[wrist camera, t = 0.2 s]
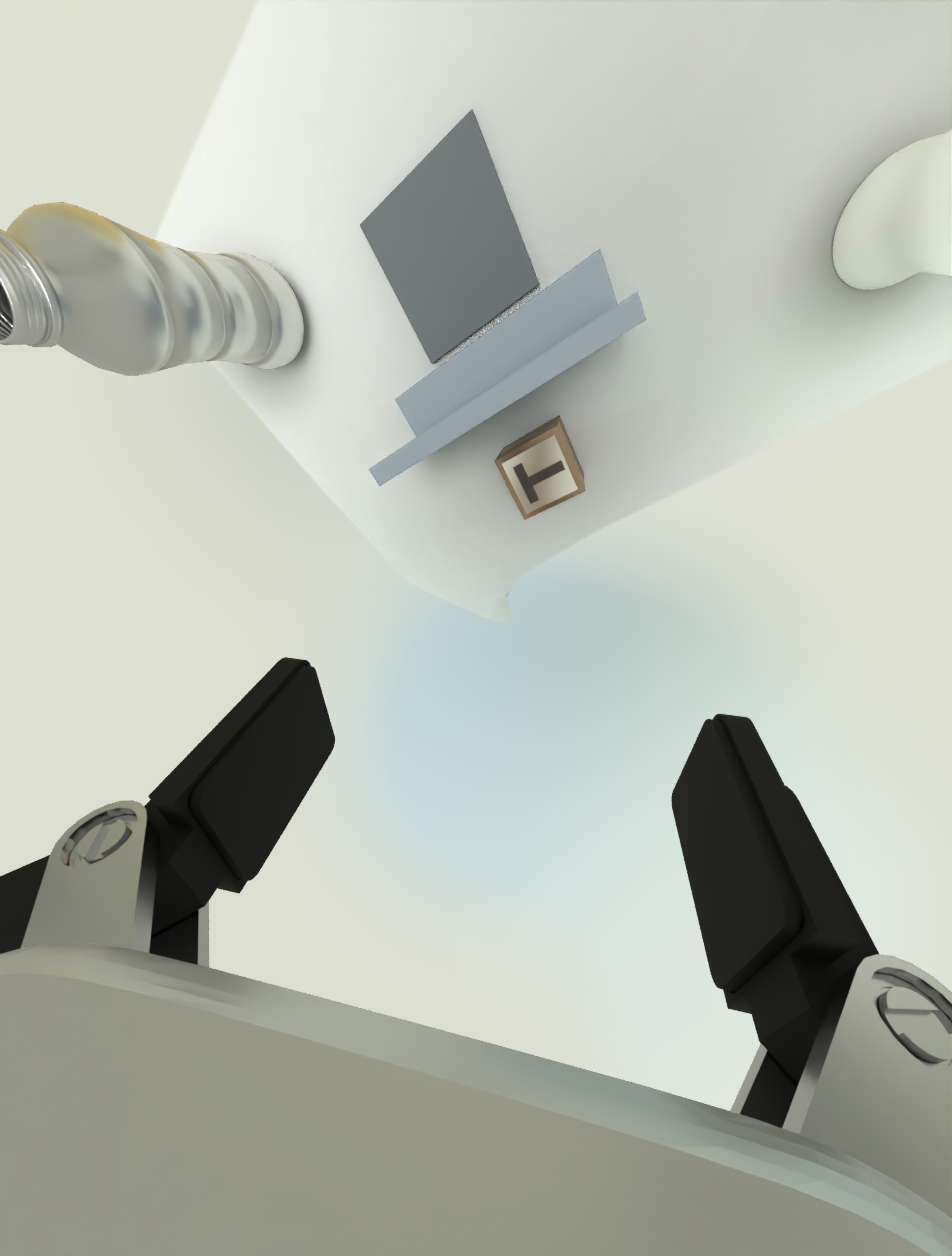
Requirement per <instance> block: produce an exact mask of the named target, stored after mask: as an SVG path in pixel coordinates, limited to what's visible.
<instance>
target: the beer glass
mask: <svg viewBox="0 0 952 1256" xmlns="http://www.w3.org/2000/svg"><path fill="white" fill-rule="evenodd" d="M832 255H833V263H834V267H835V270H836V272H837V274H838V275H839V277H840V278H841V279H842V280H843V281H844V282H845V283H846V284H848V285H849V286H851V287H854V288H857V289H862V290H875V289H880V288H884V287H888V286H891V285H894V284H896V283H899V282H901V281H903V280H905V279H907V278H909V277H911V276H913V275H915V274H917V273H919V272H927V273H934V274H940V275H948V276H952V129H951V130H950V131H948V132H947V133H944V134H940V135H936V136H932V137H928V138H925V139H922V140H919V141H916V142H914V143H912V144H910V145H908V146H906V147H904V148H902V149H900V150H899V151H897V152H896V153H894V154H893V155H891V156H890V157H888V158H887V159H886V160H884V161H883V162H882V163H881V164H880V165H879V166H877V167H876V168H875V169H874V170H873V171H872V172H871V173H870V174H869V175H868V176H867V178H866V179H865V180H864V181H863V182H862V183H861V185H860V186H859V187H858V188H857V190H856V191H855V192H854V194H853V195H852V197H851V198H850V200H849V202H848V203H847V205H846V207H845V209H844V211H843V213H842V215H841V217H840V219H839V222H838V225H837V228H836V231H835V235H834V240H833V248H832Z"/></svg>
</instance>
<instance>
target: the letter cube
mask: <svg viewBox="0 0 952 1256" xmlns="http://www.w3.org/2000/svg"><path fill="white" fill-rule="evenodd" d="M495 463H496V465H497V467H498V469H499V470H500V472H501V474H502V476H503V478H504V480H505V482H506V484H507V486H508V488H509V490H510V492H511V494H512V496H513V498H514V500H515V502H516V504H517V506H518V508H519V510H520V512H521V514H522V516H523V518H524V520H525V519H527V518H529V517H532V516H534V515H536V514H538V513H540V512H542V511H544V510H546V509H548V508H550V507H552V506H555V505H557V504H559V503H561V502H563V501H565V500H567V499H569V498H571V497H573V496H576V495H578V494H580V493H582V492H584V491H585V486H584V474H583V471H582V469H581V466H580V464H579V462H578V459H577V457H576V454H575V452H574V449H573V447H572V445H571V442H570V440H569V437H568V435H567V432H566V430H565V428H564V425H563V423H562V420H561V418H560V416H558V417H556V418H554V419H553V420H551V421H549V422H547V423H546V424H544V425H542V426H541V427H539V428H537V429H535V430H534V431H532V432H530V433H528V434H527V435H525V436H523V437H521V438H520V439H518V440H516V441H515V442H513V443H511V444H509V445H508V446H506V447H504V448H503V450H502V451H501V453H500V454H499V456H498V457H497V459H496V460H495Z"/></svg>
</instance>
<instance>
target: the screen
mask: <svg viewBox="0 0 952 1256" xmlns="http://www.w3.org/2000/svg"><path fill="white" fill-rule="evenodd" d="M645 320H646V318H645V315H644V311H643V308H642V304H641V301H640V297H639V294H638V292H636V293H635V294H633V295H632V296H630V297H629V298H627V299H626V300H624V301H623V302H621V303H620V304H618V305H617V302H616V298H615V295H614V292H613V289H612V286H611V283H610V279H609V276H608V273H607V270H606V267H605V263H604V260H603V257H602V254H601V251H600V249H599V250H598V251H596V252H595V253H593V254H592V255H591V256H589V257H588V258H587V259H585V260H584V261H583V262H581V263H580V264H579V265H577V266H576V267H574V268H573V269H572V270H570V271H569V272H568V273H566V274H565V275H564V276H562V277H561V278H559V279H558V280H557V281H555V282H554V283H553V284H551V285H550V286H549V287H547V288H546V289H545V290H543V291H542V292H540V293H539V294H538V295H536V296H535V297H534V298H532V299H531V300H530V301H528V302H527V303H525V304H524V305H523V306H521V307H520V308H519V309H517V310H516V311H515V312H513V313H512V314H511V315H509V316H508V317H506V318H505V319H504V320H502V321H501V322H500V323H498V324H497V325H496V326H494V327H493V328H491V329H490V330H489V331H487V332H486V333H485V334H483V335H482V336H481V337H479V338H478V339H477V340H475V341H474V342H472V343H471V344H470V345H468V346H467V347H466V348H464V349H463V350H462V351H460V352H459V353H457V354H456V355H455V356H453V357H452V358H451V359H449V360H448V361H447V362H445V363H444V364H443V365H441V366H440V367H438V368H437V369H436V370H434V371H433V372H432V373H430V374H429V375H428V376H426V377H425V378H423V379H422V380H421V381H419V382H418V383H417V384H415V385H414V386H413V387H411V388H410V389H409V390H407V391H406V392H404V393H403V394H402V395H400V396H399V397H398V398H396V399H395V400H396V402H397V404H398V405H399V407H400V409H401V411H402V412H403V414H404V416H405V417H406V419H407V421H408V423H409V424H410V426H411V428H412V430H413V431H414V433H415V435H416V437H417V438H415V439H414V440H412V441H411V442H409V443H408V444H406V445H405V446H403V447H402V448H400V449H399V450H397V451H396V452H394V453H393V454H391V455H390V456H388V457H387V458H385V459H384V460H382V461H381V462H379V463H378V464H376V465H375V466H373V467H371V468H370V469H369V471H370V472H371V474H372V475H373V477H374V478H375V480H376V481H377V483H378V485H379V486H381V485H383V484H384V483H386V482H387V481H389V480H391V479H392V478H394V477H395V476H397V475H399V474H400V473H402V472H403V471H405V470H407V469H408V468H410V467H411V466H413V465H415V464H416V463H418V462H419V461H421V460H423V459H424V458H426V457H427V456H429V455H431V454H432V453H434V452H435V451H437V450H439V449H440V448H442V447H443V446H445V445H447V444H448V443H450V442H451V441H453V440H455V439H456V438H458V437H459V436H461V435H463V434H464V433H466V432H467V431H469V430H471V429H472V428H474V427H475V426H477V425H479V424H480V423H482V422H483V421H485V420H487V419H488V418H490V417H491V416H493V415H495V414H496V413H498V412H499V411H501V410H503V409H504V408H506V407H507V406H509V405H510V404H512V403H514V402H515V401H517V400H518V399H520V398H522V397H523V396H525V395H526V394H528V393H530V392H531V391H533V390H534V389H536V388H538V387H539V386H541V385H542V384H544V383H546V382H547V381H549V380H550V379H552V378H554V377H555V376H557V375H558V374H560V373H562V372H563V371H565V370H566V369H568V368H570V367H571V366H573V365H574V364H576V363H578V362H579V361H581V360H582V359H584V358H586V357H587V356H589V355H590V354H592V353H594V352H595V351H597V350H598V349H600V348H602V347H603V346H605V345H606V344H608V343H610V342H611V341H613V340H614V339H616V338H618V337H619V336H621V335H622V334H624V333H626V332H627V331H629V330H630V329H632V328H634V327H635V326H637V325H638V324H640V323H642V322H643V321H645Z"/></svg>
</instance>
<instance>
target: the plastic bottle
mask: <svg viewBox="0 0 952 1256" xmlns="http://www.w3.org/2000/svg"><path fill="white" fill-rule="evenodd" d="M303 335H304V325H303V318H302V313H301V309H300V306H299V303H298V300H297V298H296V296H295V294H294V292H293V290H292V289H291V287H290V285H289V284H288V282H287V281H286V280H285V279H284V278H283V277H282V275H281V274H280V273H279V272H277V271H276V270H275V269H274V268H272V267H271V266H269V265H268V264H266V263H265V262H263V261H261V260H260V259H258V258H256V257H254V256H252V255H248V254H244V253H222V254H208V253H199V252H191V251H186V250H183V249H180V248H176V247H173V246H171V245H168V244H165V243H162V242H159V241H156V240H153V239H150V238H148V237H145V236H143V235H141V234H139V233H137V232H135V231H132V230H131V229H128V228H126V227H124V226H122V225H120V224H118V223H116V222H113V221H111V220H109V219H107V218H105V217H103V216H100V215H98V214H97V213H94V212H92V211H89V210H86V209H83V208H81V207H78V206H76V205H72V204H68V203H65V202H58V203H47V204H40V205H33V206H32V207H30V208H28V209H26V210H25V211H24V212H23V213H22V214H21V215H19V216H18V217H17V218H16V219H15V220H14V221H13V223H12V224H11V225H10V226H9V228H8V229H7V231H6V232H5V231H3V230H1V229H0V344H3V345H23V344H26V345H29V346H33V347H52V346H54V345H57V344H58V345H59V346H61V347H62V348H64V349H65V350H67V351H68V352H70V353H72V354H73V355H75V356H77V357H79V358H81V359H83V360H84V361H86V362H88V363H90V364H92V365H94V366H96V367H98V368H101V369H105V370H108V371H112V372H115V373H119V374H123V375H128V376H136V375H143V374H150V373H152V372H156V371H160V370H164V369H167V368H171V367H175V366H178V365H182V364H187V363H196V362H204V361H214V360H217V361H227V362H236V363H242V364H245V365H249V366H252V367H257V368H263V369H275V368H278V367H281V366H283V365H286V364H288V363H289V362H291V361H292V360H294V358H295V357H296V356H297V355H298V353H299V351H300V349H301V346H302V342H303Z"/></svg>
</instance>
